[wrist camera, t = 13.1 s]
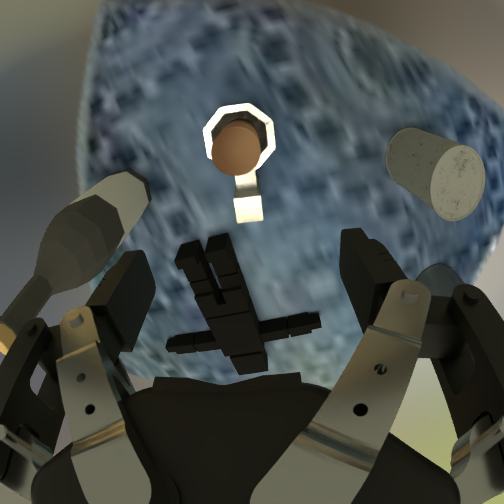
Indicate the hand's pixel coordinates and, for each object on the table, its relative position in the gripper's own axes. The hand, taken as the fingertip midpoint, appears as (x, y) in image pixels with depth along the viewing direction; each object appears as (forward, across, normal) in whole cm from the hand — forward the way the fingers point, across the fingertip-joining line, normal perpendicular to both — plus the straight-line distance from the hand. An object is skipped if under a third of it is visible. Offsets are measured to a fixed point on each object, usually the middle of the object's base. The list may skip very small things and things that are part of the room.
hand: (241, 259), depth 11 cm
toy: (+29, +7, +28) cm, 41 cm away
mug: (+28, +1, +1) cm, 28 cm away
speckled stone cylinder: (+29, -24, +3) cm, 38 cm away
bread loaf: (+25, +1, -2) cm, 25 cm away
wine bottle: (+28, +19, +4) cm, 34 cm away
